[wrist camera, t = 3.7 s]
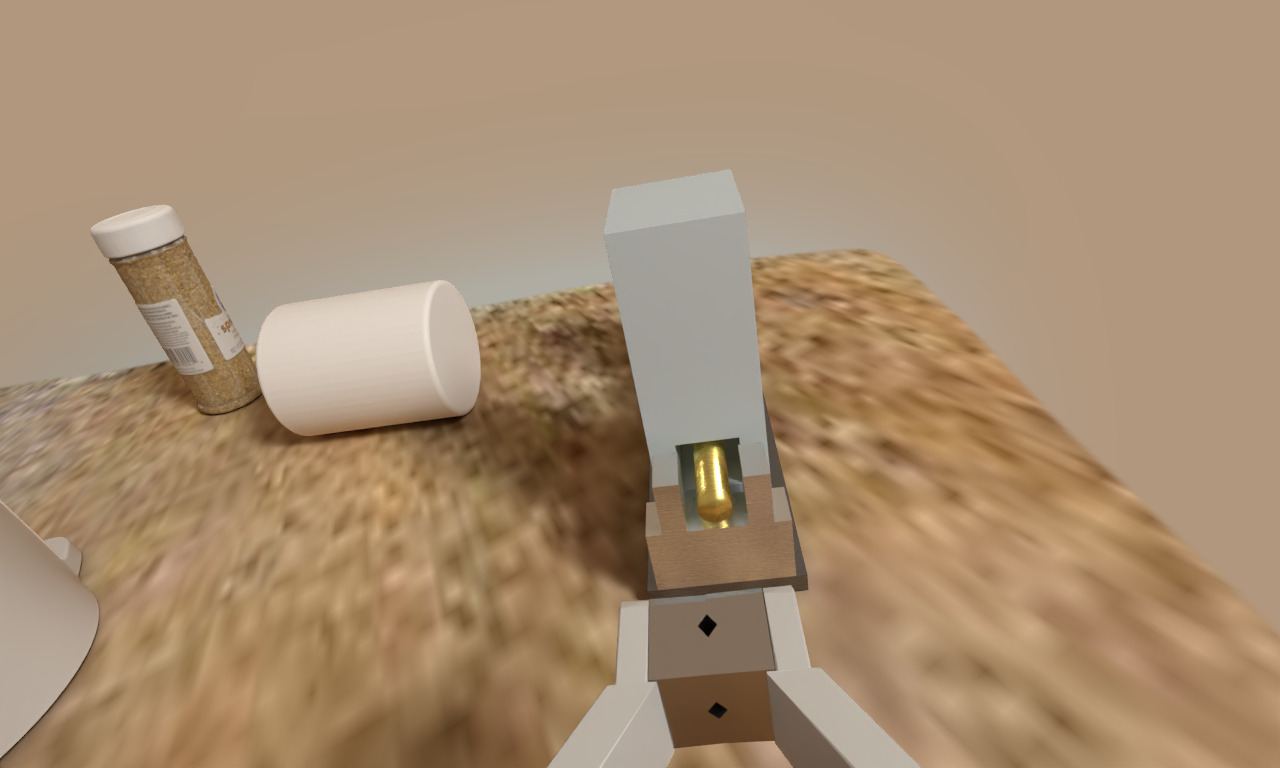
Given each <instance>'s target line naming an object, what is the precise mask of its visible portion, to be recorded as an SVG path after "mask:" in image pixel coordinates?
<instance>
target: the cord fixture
mask: <svg viewBox="0 0 1280 768" xmlns="http://www.w3.org/2000/svg"><path fill="white" fill-rule="evenodd" d="M762 392H763V391H762ZM763 402H764V413H765V423H766V434H767V444H768V455H769V465H770V471H769V466H768V462H767V457H766V453H765V448H764V443H763V442H756V443H748V444H740V445H738V450H739V458H740V466H741V474H742V482H743V490H744V491H743V492H735V493H730V487H729V480H728V473H727V465H726V458H725V450H724V443H723V439H722V440H714V441H706V442H698V443H693V452H694V466H695V480H696V494H697V497H692V498H685V493H684V488H683V482H682V477H681V471H680V466H679V461H678V455H677V452H676V453H668V454H660V455H652V465H651V460H650V473H649V503H646V541H647V545H648V595H649V600H650V599H660V598H673V597H687V596H700V595H706V594H711V593H720V592H729V591H738V590H747V589H755V588H762V590H763V588H769V587H778V586H788V585H791V586H792V587H793V589H794V591H800V590H808V579H807V572H806V568H805V564H804V559H803V555H802V551H801V547H800V543H799V539H798V535H797V531H796V526H795V522H794V518H793V514H792V510H791V506H790V502H789V498H788V494H787V489H786V485H785V481H784V477H783V473H782V469H781V465H780V461H779V456H778V452H777V448H776V444H775V440H774V436H773V432H772V428H771V423H770V419H769V415H768V411H767V407H766V403H765V399H764V395H763ZM770 476H771V478H770ZM771 486H772V488H771Z"/></svg>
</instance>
